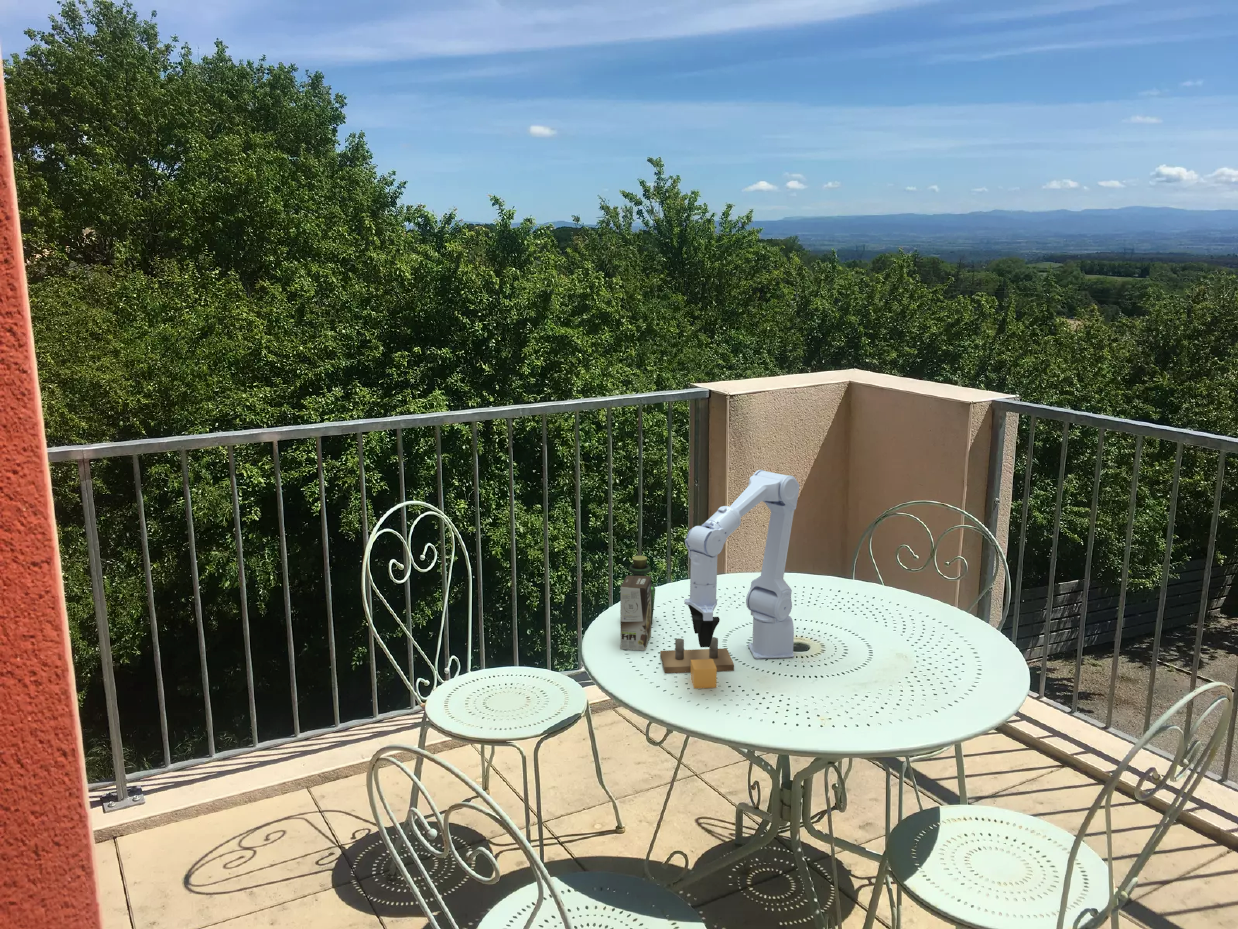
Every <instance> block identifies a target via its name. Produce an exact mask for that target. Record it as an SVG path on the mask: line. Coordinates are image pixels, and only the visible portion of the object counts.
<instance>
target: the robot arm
mask: <svg viewBox="0 0 1238 929" xmlns="http://www.w3.org/2000/svg"><path fill="white" fill-rule="evenodd" d="M748 480H749V481H748V486H747V487H746V488H745V489H744V490H743V491H742V492H741V494H740V495H739V496H738V497H737V498H736V499H735V500H734V501H733V502H732V504H731V505H723V506H720V507H719V508H717V510H716V511H715V512H714V513H713V515H711V516H710V517H709V518H708V519H707V520H706V521H705V522H704V523H702V524H701V525H695V526H694V527H692V528H691V529H689V531H688V533H687V535H686V539H684V544H685V547H686V549H687V550H688V557H689V559H690V573H689V574H690V578H689V579H690V580H689V581H690V584H689V588H690V589H689V591H690V592H689V598H684V599H683V600H684V605H686V606H687V607H688V609H689V611H690V614H691V615H690V616H691V619H692V626H693V627H692V628H693V631H694V634H695V635H696V634H697V637H698V644H699V648H709V647H710V645H711V641H712V637H714V633H715V630H716V629H717V626H718V625H719V623H720V617H719V616H714V612H715V611H714V610H715V608H716V607H717V605H718V599H717V583H718V582H717V580H718V579H717V578H718V555H719V554H720V553H721V552H722V550H723V548H724V545H725V543H726V542H727V539H728V537H729V536H731V535H732V534H733V533H734V532H735V531H736V530H737V529H738V528H739V527H740V526H741V523H742V520H741V519H742V517H743V516H745V515H746V514H748V513H749V512H750V511H751V510H752V509H754V508H755V507H756V506H757V505H759V504H760V503H761V502H763V503H764V504H765V505H766V506H767V508H768V509H769V511H770V515H769V516H770V517H769V522H768V528H767V534H766V540H765V546H764V547H765V548H764V551H763V552H764V553H763V559H762V566H761V573H760V576H758V577H756V578H755V579H752V581H751V583H750V587H749V589H748V592H747V593H746V598H745V606H746V608H747V610H749V611H750V616H752V617H753V618H752V642H751V643H750V642H749V643H747V647H748V648H749V650H750V652H751V654H752V656H753V658H754V659H757V660H758V659H780V658H781V659H783V658H794V657H795V655H794V638H795V633H794V632H795V630H794V629H795V628H794V622H793V618H792V616H790V614H791V612H792V608H793V602H792V592H793V589H792V588H791V587H790V585H789V584H788V583H787V582H786V581H785V579H784V577H785V569H786V564H787V558H788V550H789V545H790V544H789V543H790V539H791V534H792V533H791V532H792V525H793V519H794V514H795V510H796V509H797V504H798V501H799V500H798V498H799V492H800V483H799V482H798V480H797V478H796V477H795V476H793V475H787V474H782V473H777V472H772V471H768V470H767V471H766V470H764V469H758V470H756V471H755V472H754V473H753V474H752V475H751V476H750V477H749V479H748Z"/></svg>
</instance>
